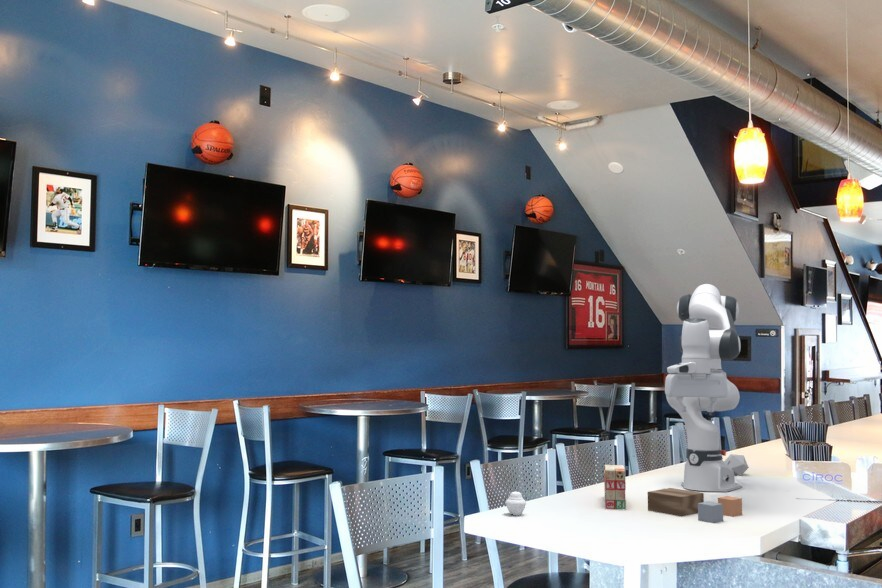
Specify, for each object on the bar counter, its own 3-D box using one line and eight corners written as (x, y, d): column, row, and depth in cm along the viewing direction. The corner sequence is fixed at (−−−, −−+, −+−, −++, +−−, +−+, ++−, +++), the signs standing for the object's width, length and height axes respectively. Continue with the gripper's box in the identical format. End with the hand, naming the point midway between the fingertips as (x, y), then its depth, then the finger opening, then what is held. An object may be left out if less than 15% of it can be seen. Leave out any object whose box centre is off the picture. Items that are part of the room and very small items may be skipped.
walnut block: (670, 506, 254) (670, 487, 255) (704, 512, 245) (703, 492, 245) (647, 511, 246) (647, 491, 247) (681, 517, 237) (681, 497, 238)
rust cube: (727, 512, 244) (727, 495, 245) (742, 515, 240) (741, 498, 241) (718, 514, 241) (717, 497, 242) (732, 517, 237) (732, 500, 238)
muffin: (523, 517, 235) (523, 493, 235) (503, 515, 237) (503, 492, 238) (528, 513, 241) (528, 490, 241) (508, 512, 243) (508, 488, 243)
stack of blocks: (604, 497, 270) (603, 460, 271) (623, 498, 269) (622, 461, 270) (605, 509, 249) (605, 469, 250) (626, 510, 248) (625, 470, 249)
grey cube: (708, 518, 235) (707, 501, 235) (723, 521, 231) (722, 503, 231) (698, 520, 232) (697, 503, 232) (713, 523, 228) (712, 505, 228)
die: (723, 474, 329) (717, 456, 325) (741, 463, 330) (735, 445, 326) (736, 484, 321) (730, 466, 317) (754, 473, 322) (748, 455, 318)
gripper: (721, 369, 259) (721, 411, 258) (662, 367, 256) (662, 411, 254) (731, 368, 253) (732, 412, 252) (671, 367, 250) (671, 411, 248)
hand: (696, 411), depth 253 cm, fingers open, 8 cm apart
